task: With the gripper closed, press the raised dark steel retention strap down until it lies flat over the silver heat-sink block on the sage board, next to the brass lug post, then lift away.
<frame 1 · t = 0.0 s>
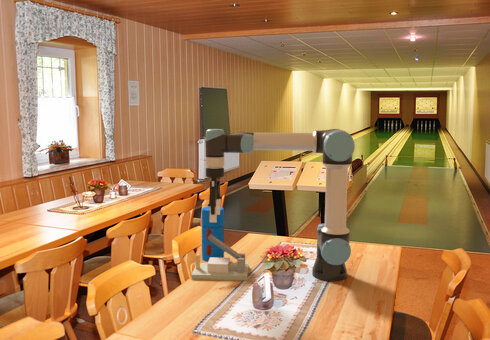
hand: (215, 218, 200), 28 cm above the table, fingers open, 13 cm apart
strap: (226, 248, 215), point 11 cm above the table, hinge at 35.0°
clamp board: (221, 273, 216), on the table
thermos: (213, 259, 236), on the table
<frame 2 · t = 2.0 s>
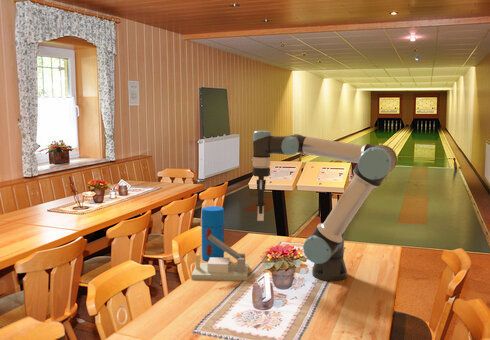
hand: (260, 220, 212), 24 cm above the table, fingers closed
nothing on the table moved.
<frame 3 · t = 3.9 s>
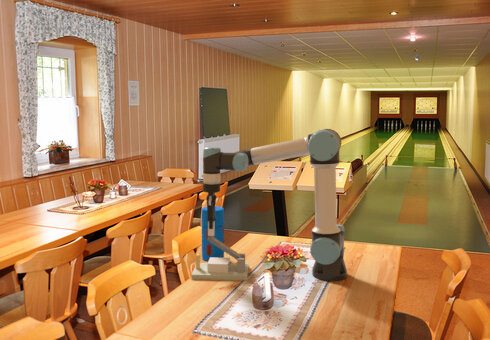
hand: (211, 235, 214), 17 cm above the table, fingers closed
strap: (225, 248, 215), point 11 cm above the table, hinge at 33.4°, touching gripper
everything else where it was.
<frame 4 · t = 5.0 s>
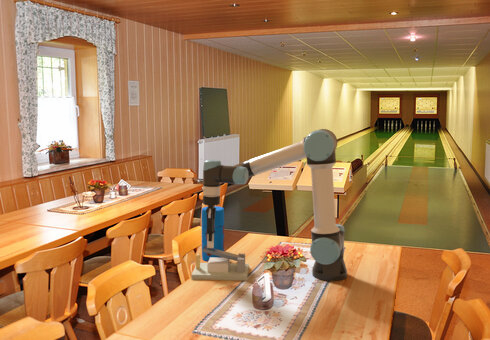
hand: (210, 247, 215), 12 cm above the table, fingers closed
strap: (223, 254, 215), point 9 cm above the table, hinge at 14.5°, touching gripper
everything else where it was.
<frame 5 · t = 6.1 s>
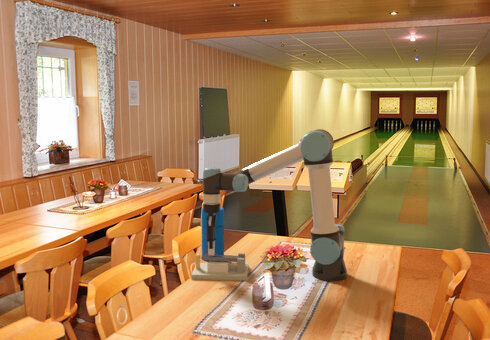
hand: (211, 255, 215), 8 cm above the table, fingers closed
strap: (222, 257, 215), point 7 cm above the table, hinge at 2.5°, touching gripper
everything else where it was.
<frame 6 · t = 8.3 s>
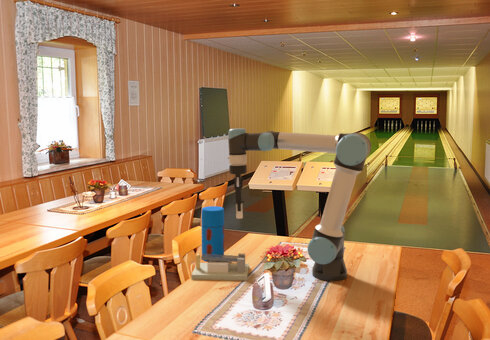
hand: (239, 218, 212), 25 cm above the table, fingers closed
strap: (222, 257, 215), point 7 cm above the table, hinge at 2.4°
everything else where it was.
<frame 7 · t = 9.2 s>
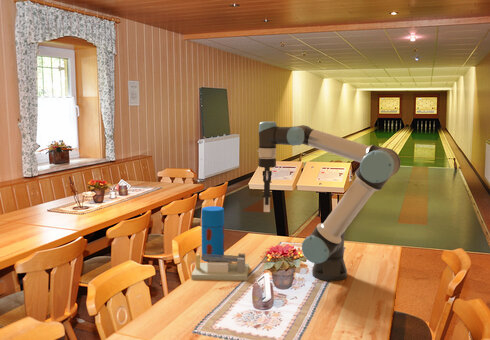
hand: (266, 211, 211), 28 cm above the table, fingers closed
nothing on the table moved.
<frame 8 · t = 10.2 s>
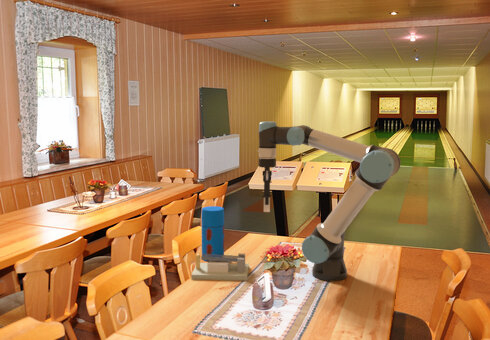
hand: (266, 211, 211), 28 cm above the table, fingers closed
nothing on the table moved.
at the end: strap at +2° (first picture: +35°); thermos moved 0.2 cm from its start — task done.
